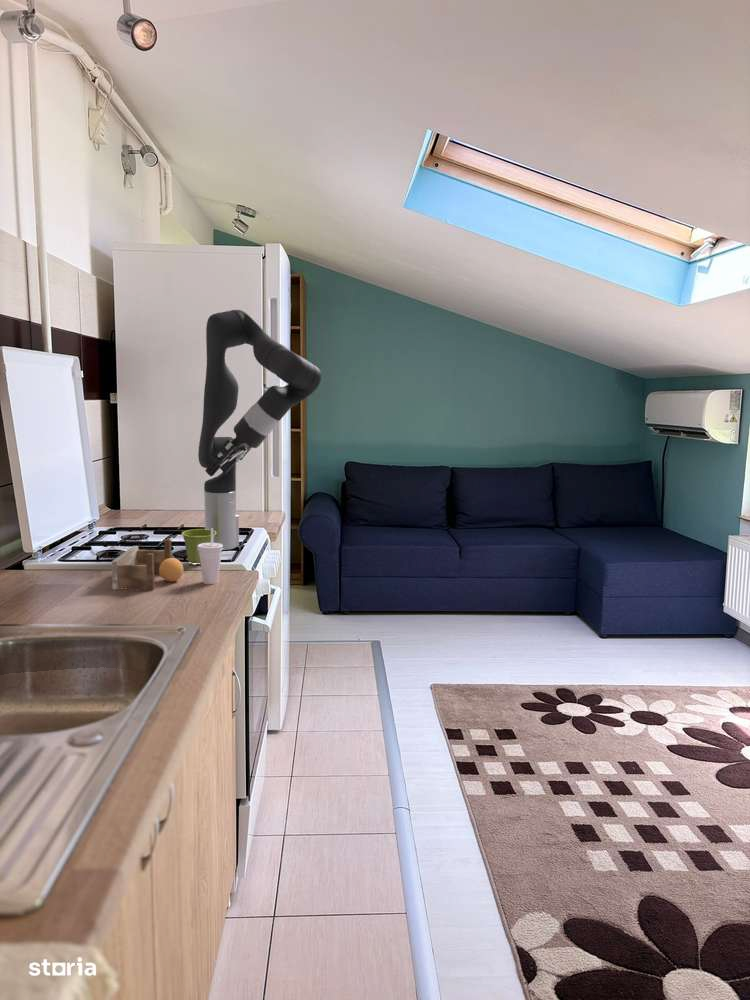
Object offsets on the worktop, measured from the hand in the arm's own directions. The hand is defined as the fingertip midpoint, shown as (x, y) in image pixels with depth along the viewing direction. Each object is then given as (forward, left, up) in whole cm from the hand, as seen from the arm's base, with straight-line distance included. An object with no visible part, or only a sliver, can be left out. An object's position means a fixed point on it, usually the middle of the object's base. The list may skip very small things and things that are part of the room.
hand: (215, 472), depth 201 cm
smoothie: (+1, -2, -29) cm, 29 cm away
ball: (+7, -10, -25) cm, 28 cm away
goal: (+11, -15, -28) cm, 34 cm away
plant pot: (-9, -20, -29) cm, 36 cm away
